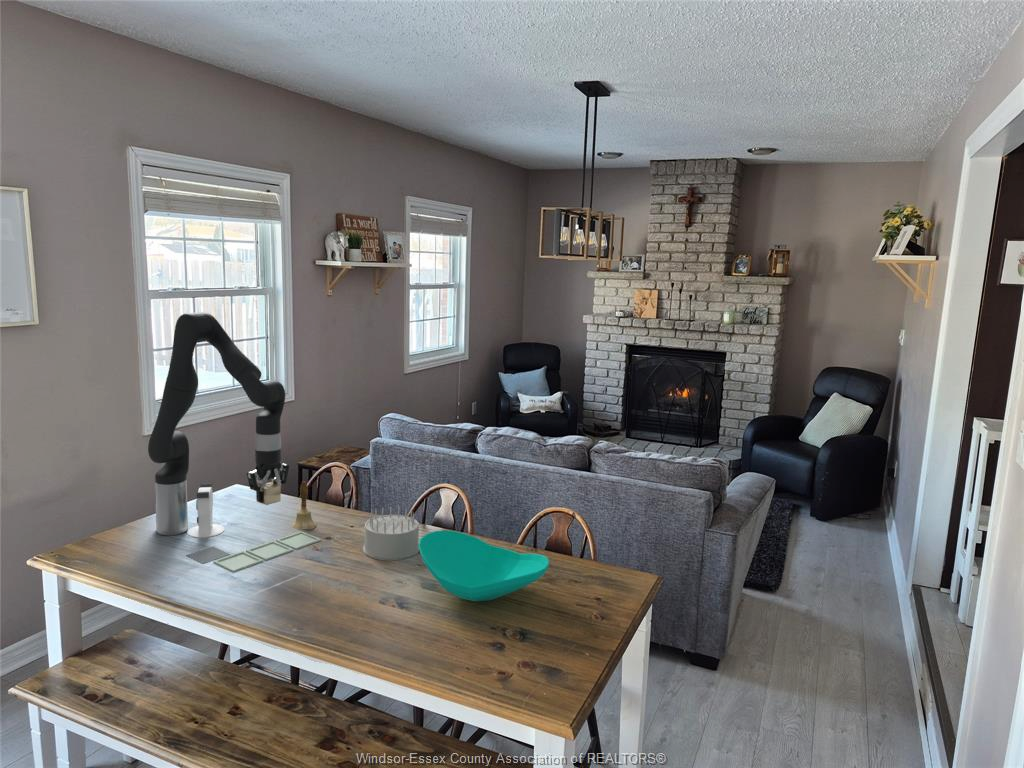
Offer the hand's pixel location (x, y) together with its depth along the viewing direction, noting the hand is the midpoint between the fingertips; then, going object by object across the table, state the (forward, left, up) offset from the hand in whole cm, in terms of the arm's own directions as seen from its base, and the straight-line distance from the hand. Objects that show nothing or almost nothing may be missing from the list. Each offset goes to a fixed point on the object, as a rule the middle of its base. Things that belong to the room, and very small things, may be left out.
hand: (268, 500), depth 218 cm
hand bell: (-10, +21, -17) cm, 29 cm away
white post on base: (-30, -3, -17) cm, 35 cm away
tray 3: (0, +11, -17) cm, 20 cm away
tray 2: (0, 0, -17) cm, 17 cm away
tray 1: (0, -11, -17) cm, 20 cm away
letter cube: (0, 0, 0) cm, 0 cm away
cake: (+26, +27, -17) cm, 42 cm away
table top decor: (+68, +21, -17) cm, 73 cm away
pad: (-11, -14, -17) cm, 24 cm away
